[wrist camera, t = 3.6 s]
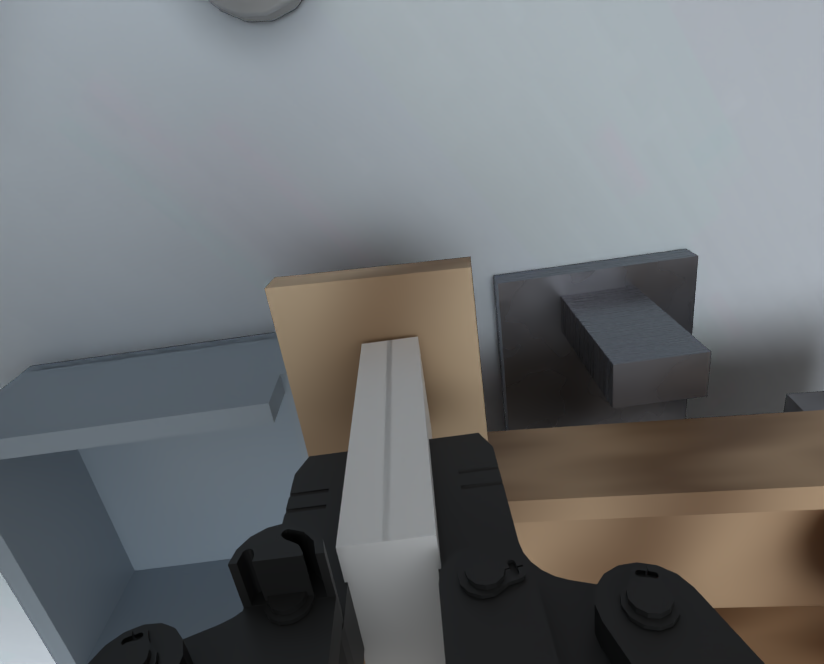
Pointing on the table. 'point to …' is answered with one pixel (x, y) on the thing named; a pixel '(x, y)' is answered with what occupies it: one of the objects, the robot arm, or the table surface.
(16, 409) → the bin
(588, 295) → the stand
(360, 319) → the chute
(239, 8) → the rook chess piece
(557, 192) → the table surface
